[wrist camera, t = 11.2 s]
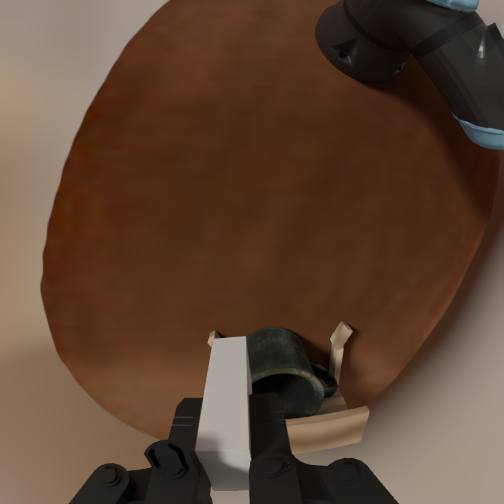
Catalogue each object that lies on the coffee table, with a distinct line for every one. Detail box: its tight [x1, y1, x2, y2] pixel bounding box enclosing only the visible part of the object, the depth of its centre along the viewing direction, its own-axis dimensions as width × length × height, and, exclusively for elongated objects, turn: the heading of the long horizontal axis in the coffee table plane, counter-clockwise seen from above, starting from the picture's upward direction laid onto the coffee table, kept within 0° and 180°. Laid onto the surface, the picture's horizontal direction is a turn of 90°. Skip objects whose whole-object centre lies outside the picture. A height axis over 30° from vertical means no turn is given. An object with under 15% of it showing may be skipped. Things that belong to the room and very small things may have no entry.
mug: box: [246, 328, 338, 420], centre depth 37 cm, size 11×15×12 cm
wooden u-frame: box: [208, 321, 370, 454], centre depth 35 cm, size 13×21×15 cm, turn 93°
